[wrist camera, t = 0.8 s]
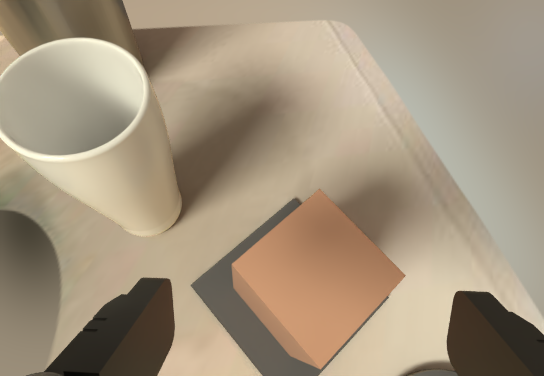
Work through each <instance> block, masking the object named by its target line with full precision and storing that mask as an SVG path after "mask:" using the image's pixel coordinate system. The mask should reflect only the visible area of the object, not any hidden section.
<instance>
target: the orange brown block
mask: <svg viewBox="0 0 544 376" xmlns="http://www.w3.org/2000/svg"><path fill="white" fill-rule="evenodd" d="M232 277H233V288H234V289H235V291H236V292H237V293H238V294H239V295H240V297H241V298H242V299H243V300H244V301H245V303H246V304H247V305H248V306H249V307H250V309H251V310H252V311H253V312H254V313H255V315H256V316H257V317H258V318H259V319H260V321H261V322H262V323H263V324H264V325H265V327H266V328H267V329H268V330H269V331H270V333H271V334H272V335H273V336H274V337H275V339H276V340H277V341H278V342H279V343H280V345H281V346H282V347H283V348H284V349H285V351H286V352H287V353H288V354H289V355H290V356H291V357H293V358H296V359H298V360H300V361H303V362H305V363H307V364H309V365H312V366H314V367H316V368H319V369H322V367H323V366H324V365H325V364H326V363H327V362H328V361H329V360H330V359H331V358H332V356H333V355H334V354H335V353H336V352H337V351H338V350H339V349H340V348H341V347H342V345H343V344H344V343H345V342H346V341H347V340H348V339H349V338H350V337H351V336H352V334H353V333H354V332H355V331H356V330H357V329H358V328H359V327H360V326H361V324H362V323H363V322H364V321H365V320H366V319H367V318H368V317H369V316H370V315H371V313H372V312H373V311H374V310H375V309H376V308H377V307H378V306H379V305H380V304H381V302H382V301H383V300H384V299H385V298H386V297H387V296H388V295H389V294H390V293H391V291H392V290H393V289H394V288H395V287H396V286H397V285H398V284H399V283H400V281H401V280H402V279H403V278H404V277H405V275H404V274H403V273H402V272H401V270H400V269H399V268H398V267H397V266H396V265H395V264H394V263H393V262H392V261H391V260H390V259H389V258H388V257H387V256H386V255H385V254H384V253H383V252H382V251H381V250H380V249H379V248H378V247H377V246H376V245H375V244H374V243H373V242H372V241H371V240H370V239H369V238H368V237H367V236H366V235H365V234H364V233H363V232H362V231H361V230H360V229H359V228H358V227H357V226H356V225H355V224H354V223H353V222H352V221H351V220H350V219H349V218H348V217H347V216H346V215H345V214H344V213H343V212H342V211H341V210H340V209H339V208H338V207H337V206H336V205H335V204H334V203H333V202H332V201H331V200H330V199H329V198H328V197H327V196H326V195H325V194H324V193H323V192H322V191H321V190H320V189H319V190H318V191H316V192H315V193H314V194H313V195H312V196H311V197H309V198H308V199H307V200H306V201H305V202H304V203H302V204H301V205H300V206H299V207H298V208H297V209H295V210H294V211H293V212H292V213H291V214H290V215H288V216H287V217H286V218H285V219H284V220H283V221H281V222H280V223H279V224H278V225H277V226H276V227H274V228H273V229H272V230H271V231H270V232H269V233H267V234H266V235H265V236H264V237H263V238H262V239H260V240H259V241H258V242H257V243H256V244H255V245H253V246H252V247H251V248H250V249H249V250H248V251H246V252H245V253H244V254H243V255H242V256H241V257H239V258H238V259H237V260H236V261H235V262H234V263H232Z"/></svg>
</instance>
